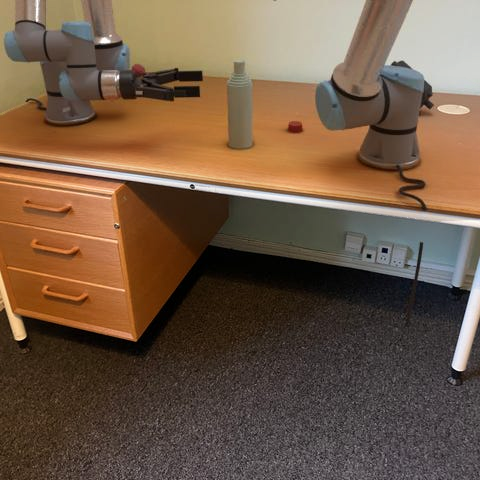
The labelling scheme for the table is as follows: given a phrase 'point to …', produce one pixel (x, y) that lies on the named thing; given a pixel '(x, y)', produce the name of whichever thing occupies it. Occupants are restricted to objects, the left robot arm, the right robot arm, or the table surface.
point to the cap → (295, 126)
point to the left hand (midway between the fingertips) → (201, 83)
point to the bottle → (240, 107)
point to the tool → (427, 88)
